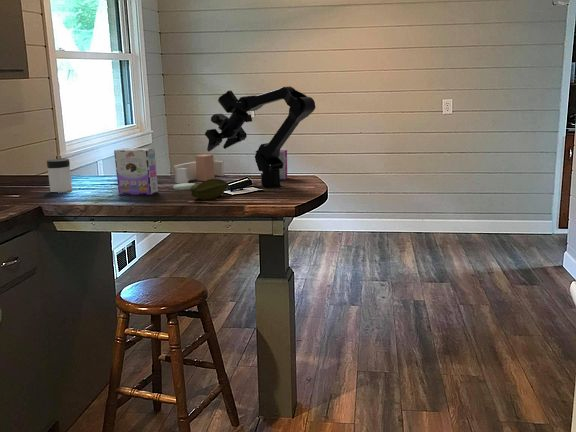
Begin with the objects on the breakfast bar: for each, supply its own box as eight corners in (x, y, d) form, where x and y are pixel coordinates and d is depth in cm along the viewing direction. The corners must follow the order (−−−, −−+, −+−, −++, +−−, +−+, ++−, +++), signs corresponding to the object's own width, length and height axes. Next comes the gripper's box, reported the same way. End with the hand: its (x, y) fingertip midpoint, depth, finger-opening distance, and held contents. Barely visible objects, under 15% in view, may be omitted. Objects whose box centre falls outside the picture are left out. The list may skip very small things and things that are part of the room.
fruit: (195, 195, 223) (194, 177, 222) (229, 194, 222) (228, 176, 221) (189, 202, 212) (187, 182, 210) (224, 201, 211) (223, 181, 210)
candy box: (159, 192, 231) (155, 147, 228) (150, 195, 226) (146, 149, 222) (126, 191, 236) (122, 147, 232) (117, 194, 230) (113, 149, 227)
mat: (197, 185, 243) (197, 182, 243) (197, 189, 235) (197, 186, 234) (173, 186, 242) (173, 183, 242) (173, 190, 234) (172, 187, 233)
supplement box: (285, 180, 247) (284, 151, 244) (270, 180, 248) (269, 151, 245) (288, 177, 252) (287, 149, 250) (273, 177, 253) (272, 149, 251)
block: (214, 179, 255) (213, 154, 253) (206, 181, 252) (204, 156, 249) (205, 178, 258) (204, 154, 256) (197, 180, 255) (195, 155, 252)
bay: (224, 175, 264) (223, 159, 262) (186, 184, 246) (184, 166, 245) (213, 174, 267) (212, 158, 266) (175, 182, 250) (173, 165, 248)
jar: (73, 191, 239) (69, 160, 236) (50, 193, 236) (46, 162, 234) (72, 188, 247) (68, 157, 245) (50, 190, 245) (46, 159, 242)
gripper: (239, 105, 248) (220, 132, 257) (206, 108, 234) (187, 136, 243) (255, 125, 246) (236, 152, 255) (223, 130, 231) (203, 158, 240)
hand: (216, 149), depth 248 cm, fingers open, 9 cm apart
